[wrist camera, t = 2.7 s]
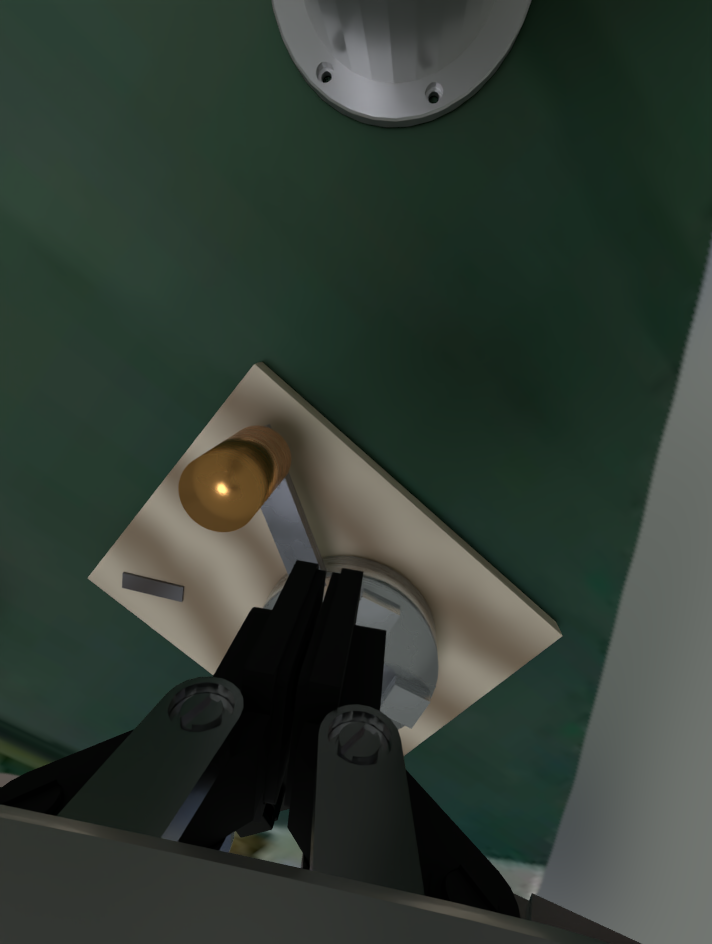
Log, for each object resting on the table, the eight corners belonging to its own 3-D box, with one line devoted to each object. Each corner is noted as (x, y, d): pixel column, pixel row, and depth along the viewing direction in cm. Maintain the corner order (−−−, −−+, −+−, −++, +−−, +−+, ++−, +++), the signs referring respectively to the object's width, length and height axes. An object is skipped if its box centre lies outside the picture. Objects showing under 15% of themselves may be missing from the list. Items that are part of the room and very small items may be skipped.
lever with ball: (456, 688, 33) (471, 812, 25) (297, 718, 35) (262, 840, 27) (356, 386, 28) (332, 414, 19) (175, 445, 30) (84, 493, 22)
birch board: (262, 361, 29) (253, 364, 28) (555, 622, 33) (563, 637, 31) (100, 567, 35) (85, 579, 34) (362, 771, 39) (360, 791, 37)
